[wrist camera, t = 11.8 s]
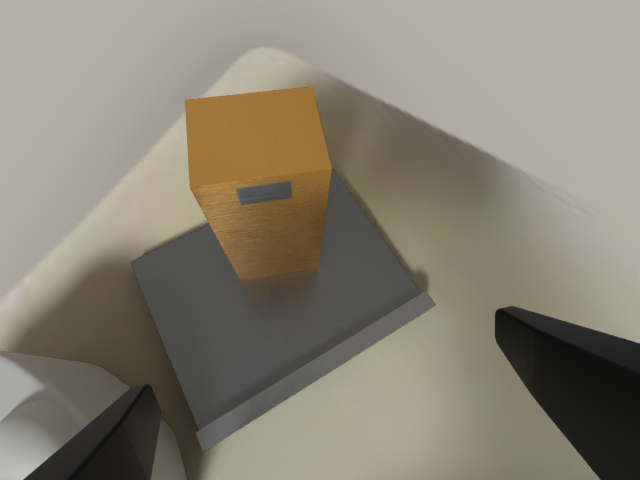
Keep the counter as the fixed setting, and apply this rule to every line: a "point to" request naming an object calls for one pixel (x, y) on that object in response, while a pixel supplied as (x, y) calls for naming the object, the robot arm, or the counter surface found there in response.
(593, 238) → the counter surface
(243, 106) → the block
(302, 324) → the dark grey tray
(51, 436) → the lumpy-topped squat cylinder
